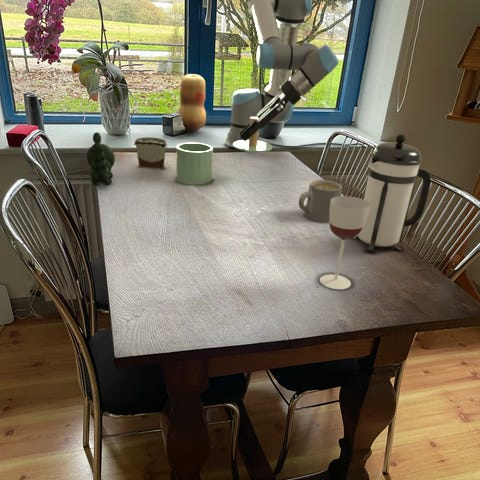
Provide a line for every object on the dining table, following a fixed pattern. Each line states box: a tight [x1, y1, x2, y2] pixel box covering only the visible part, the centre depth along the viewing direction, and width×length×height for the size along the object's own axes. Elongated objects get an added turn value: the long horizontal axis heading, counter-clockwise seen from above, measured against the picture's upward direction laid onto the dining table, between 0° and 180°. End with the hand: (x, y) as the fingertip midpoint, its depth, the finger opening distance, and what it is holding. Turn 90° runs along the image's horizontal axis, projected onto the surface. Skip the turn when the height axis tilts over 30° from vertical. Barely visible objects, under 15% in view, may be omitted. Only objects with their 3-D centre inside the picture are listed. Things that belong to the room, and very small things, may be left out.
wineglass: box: [319, 195, 370, 290], centre depth 115 cm, size 8×9×20 cm
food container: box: [133, 136, 168, 170], centre depth 188 cm, size 12×6×10 cm, turn 84°
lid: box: [233, 117, 273, 153], centre depth 172 cm, size 14×14×10 cm
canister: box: [175, 142, 214, 186], centre depth 177 cm, size 13×13×12 cm
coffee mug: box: [298, 179, 343, 223], centre depth 154 cm, size 13×10×10 cm
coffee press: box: [351, 134, 432, 254], centre depth 134 cm, size 17×16×30 cm
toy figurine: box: [86, 131, 116, 186], centre depth 168 cm, size 9×19×25 cm
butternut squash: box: [177, 73, 207, 132], centre depth 236 cm, size 14×13×25 cm
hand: (242, 137), depth 172 cm, fingers closed on lid, 3 cm apart
